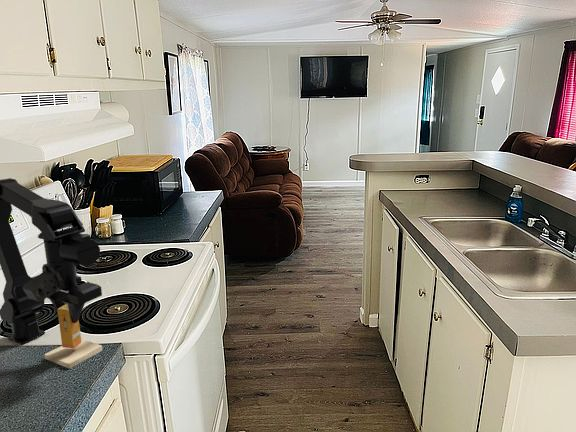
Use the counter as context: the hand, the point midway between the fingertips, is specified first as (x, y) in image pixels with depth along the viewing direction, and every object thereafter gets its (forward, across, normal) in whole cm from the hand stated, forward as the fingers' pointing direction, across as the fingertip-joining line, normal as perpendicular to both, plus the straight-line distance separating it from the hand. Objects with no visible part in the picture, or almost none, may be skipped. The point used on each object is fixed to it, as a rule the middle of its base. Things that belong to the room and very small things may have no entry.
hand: (69, 320), depth 105 cm
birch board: (+9, 0, 0) cm, 9 cm away
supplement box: (+7, 0, 0) cm, 7 cm away
